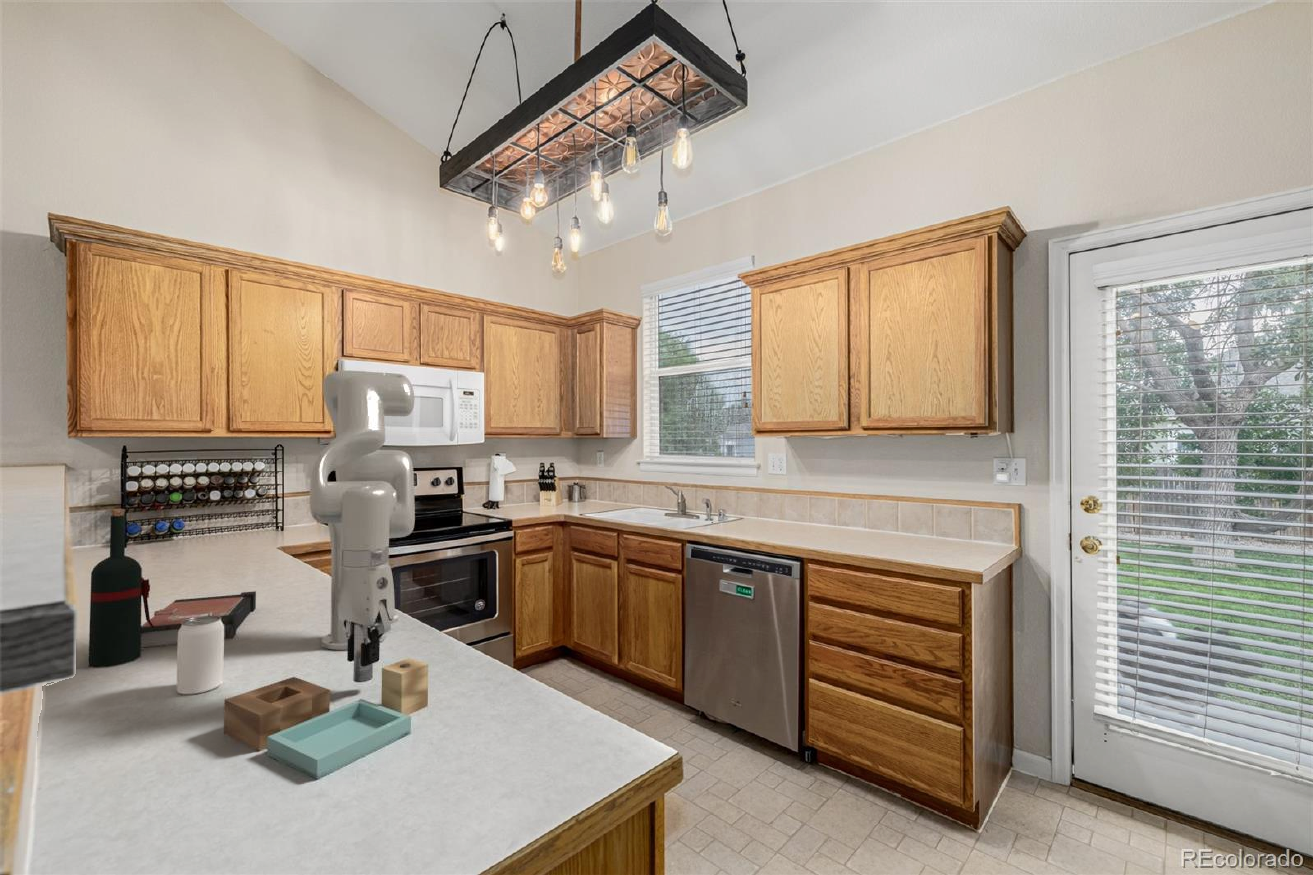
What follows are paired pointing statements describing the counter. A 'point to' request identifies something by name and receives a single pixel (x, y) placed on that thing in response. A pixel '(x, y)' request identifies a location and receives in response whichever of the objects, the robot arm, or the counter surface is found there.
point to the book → (172, 616)
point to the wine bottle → (116, 603)
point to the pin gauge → (359, 671)
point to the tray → (338, 737)
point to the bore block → (273, 710)
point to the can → (200, 655)
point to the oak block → (405, 686)
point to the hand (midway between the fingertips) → (363, 660)
